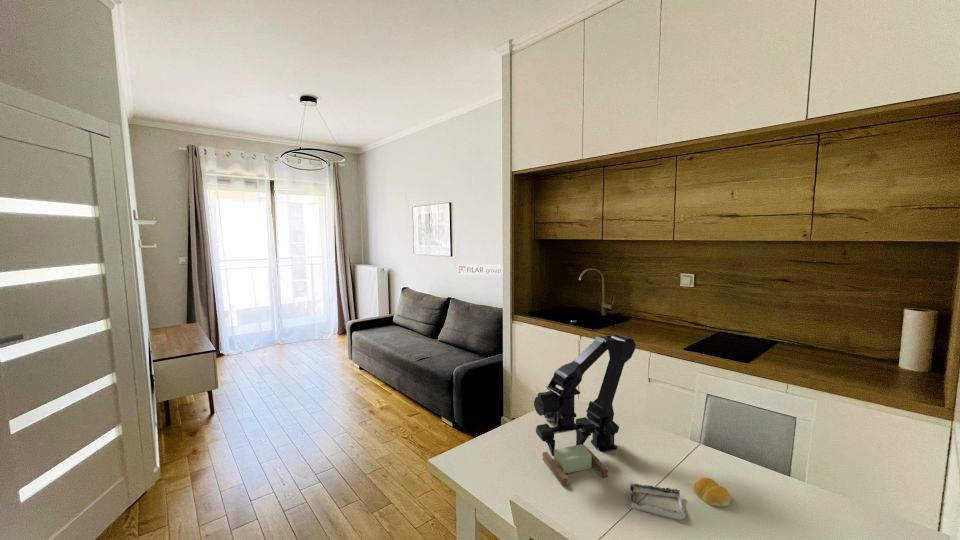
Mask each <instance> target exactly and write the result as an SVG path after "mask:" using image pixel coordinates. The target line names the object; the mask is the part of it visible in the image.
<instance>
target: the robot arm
mask: <svg viewBox="0 0 960 540" xmlns="http://www.w3.org/2000/svg"><path fill="white" fill-rule="evenodd" d="M636 345H637V343H636V342H635V340H634V339H633V338H632V337H629V336H625V335H623V334H619V333H615V334H613V335H607V334H606V335H602V334H601V335H597V336H596V337H595V338H594V340H593V341H592V342H591V343H590V344H589V345H588V346H587V347H585V349H584V350H583V351H582V352H580V354H579V355H577V357H576V358H575V359H574V360H573V361H571V362H569V363H566V364H562V365H561V366H560V367H558V368H557V369H556V370H555V371H554V373H553V376H552V378H551V380H550V381H549V383H548V384H547V387H546V389H547V390H548V391H544V392H543V391H541V392H538V393H537V396H536V397H535V398H534V400H533V407H534V410H535V412H536V413H537V415H539V416H544V418H545V420H546V419H550V420H553V421H552V423H553V424H554V425H555V426H552V427H551V426H550V425H549V424H548V423H544V424H538V425H537V426H536V427H535V434H536V435H537V436H538V437H539V439H540V440H541V441H542V442H544V443H546V445H547V446H548V449H549V451H550V454H551V455H550V456H551V457H554V450H555V448H556V440H555V435H556V434H561V433H567V432H572V431H575V433H576V439H575V441H576V443H575V445H580V444H582V445H583V444H584V445H585V442H586V440H588V438H589V437H591V436H592V438H591V439H592V440H590V443H591V444H592V445H593V446H594V447H595V448H596V449H597V450H598V451H600V452H606V451H612V450H615V449H618V446H617V444H615V435H616V434H617V433H619V429H620V426H619V425H618V423H617V422H615V421H614V417H615V413H614V411H615V410H614V407H613V402H614V399H615V397H616V396H615V395H616V393H617V389H618V386H619V383H620V380H621V376H622V372H623V370H624V367H625V364H626V363H627V362H628V361H630V359H631V358H632V357H633V355H634V353H635V350H636ZM607 351H608V355H609V361H608V364H607V366H606V371H605V373H604V376H603V379H602V383H601V385H600V389H599V392H598V395H597V398H596V399H594V400H593V401H592V400H590V401H589V402H588V406H587V409H586V411H585V412H586V416H585V417H579V418H577V413H576V412H575V396H577V395H581V391H580V390H578V386H579V385H580V383H581V382H582V381H583V377H584V376H583V375H584V374H585V372H587V370H589V368H590V367H592V366H593V364H595V363H596V362H597V361H598V359H600V357H602V356H603V355H604V354H605V353H606V352H607ZM557 386H558V387H557ZM559 387H560V388H561V389H560V388H559ZM575 418H576V419H575ZM550 420H549V421H550Z"/></svg>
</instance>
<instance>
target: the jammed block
mask: <svg viewBox="0 0 960 540" xmlns="http://www.w3.org/2000/svg"><path fill="white" fill-rule="evenodd" d="M553 460H554V461H555V462H556V463H557V465H558V466H559V467H560V469H561V470H562V471H563V472H564V474H565V475H566V474H569V473H570V474H571V473H574V472H579V471H583V470H589V469H592V467H593V466H592V454H591V453H590V452H589V451H588V450H587V449H586V448H585V447H584V446H583V445H582V444H580V445H576V444H575V445H571V446H566V447H560V448H556V449H555V450H554V456H553Z"/></svg>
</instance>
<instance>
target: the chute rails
mask: <svg viewBox="0 0 960 540" xmlns="http://www.w3.org/2000/svg"><path fill="white" fill-rule="evenodd" d="M583 446H584V447H585V448H586V449H587V450H588V451H589V452H590V453H591V454H592V467H593V468H594V470H596V471H597V473H599V474H600V476H601V477H602V478H603V479H605V478H608V477H609V468H608V467H607V466H606V465H605V464H604V463H603V462H602V461H600V459H599V458H598V457H597V456H596V455H595V454H594V453H593V452H592V451H591V450H590V449H589V447H587V446H586V445H585V443H584V444H583ZM542 461H543V462H544V464H545V465H546V467H547V468H548V469H549V470H550V472H551V473H552V474H553V476H554V477H555V478H556V480H557V481H558V482H559V484H560V485H561V486H562V487H563V488H564V487H565V488H566V487H568V486H569V479H568V476H567V475H566V474H564V472H563V471H562V470H561V469H560V467H559V466H558V465H557V463H556V462H555V461H554V457H553V456H552V455H550V453H549V452H548V451H543V452H542Z"/></svg>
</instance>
